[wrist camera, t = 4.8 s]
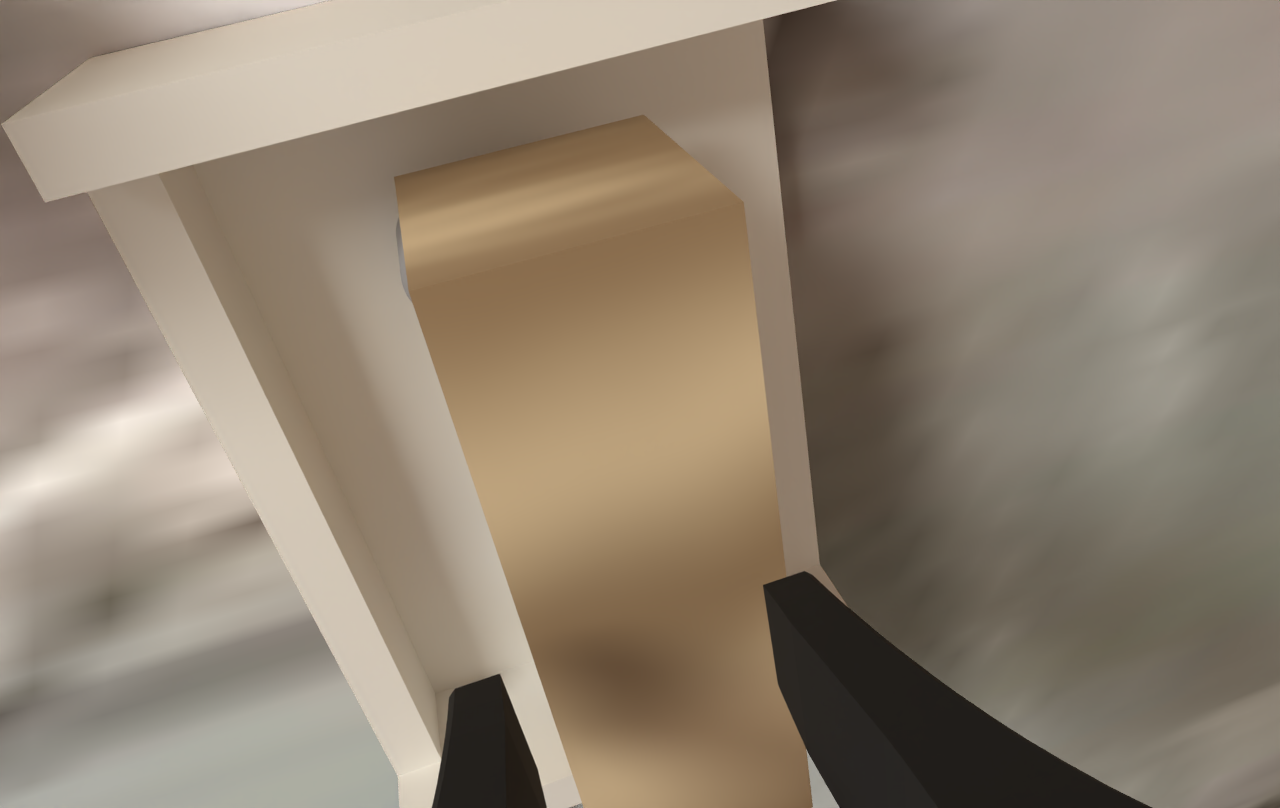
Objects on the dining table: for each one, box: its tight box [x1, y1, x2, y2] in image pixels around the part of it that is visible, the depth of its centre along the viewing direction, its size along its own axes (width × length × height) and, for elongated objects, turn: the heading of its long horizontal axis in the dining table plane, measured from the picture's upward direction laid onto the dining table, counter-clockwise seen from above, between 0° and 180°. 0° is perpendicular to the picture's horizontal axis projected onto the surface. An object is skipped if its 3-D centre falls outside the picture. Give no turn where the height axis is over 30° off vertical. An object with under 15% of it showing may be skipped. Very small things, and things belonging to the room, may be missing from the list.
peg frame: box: [1, 0, 848, 808], centre depth 18 cm, size 16×11×4 cm
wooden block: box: [394, 115, 813, 808], centre depth 16 cm, size 12×4×4 cm, turn 10°
